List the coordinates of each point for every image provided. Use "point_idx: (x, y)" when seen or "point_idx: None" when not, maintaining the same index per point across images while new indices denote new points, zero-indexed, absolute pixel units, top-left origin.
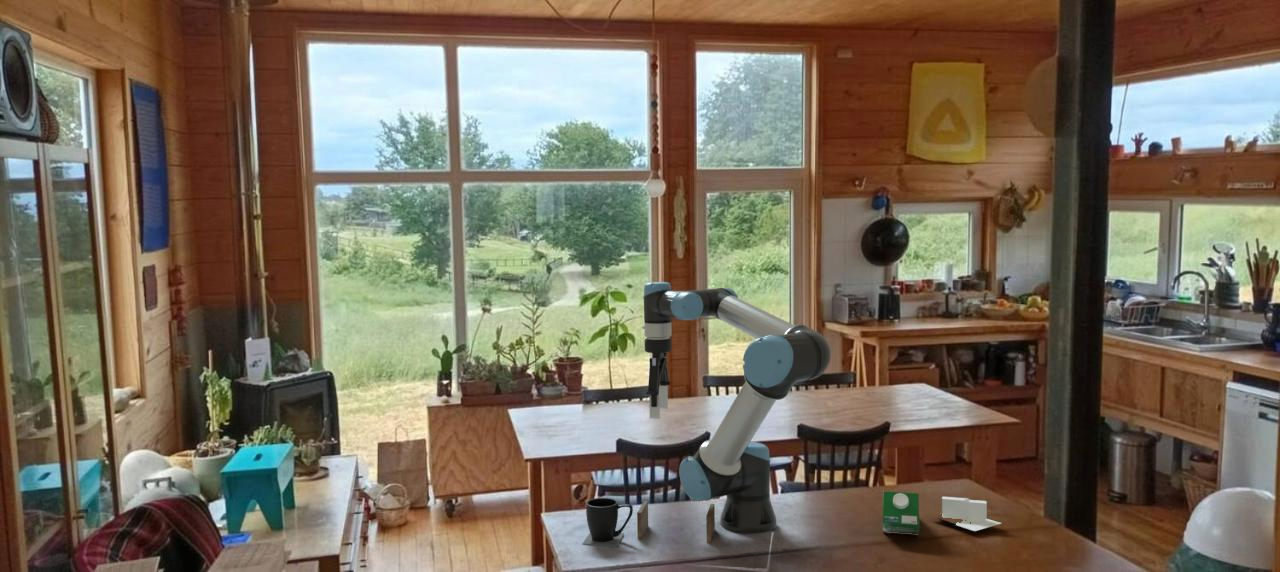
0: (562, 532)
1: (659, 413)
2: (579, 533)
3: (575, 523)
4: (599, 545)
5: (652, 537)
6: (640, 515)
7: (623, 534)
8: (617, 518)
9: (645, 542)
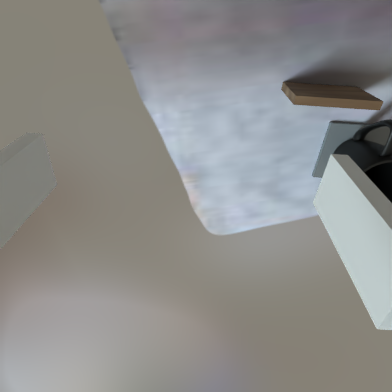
0: (298, 212)
1: (359, 170)
2: (306, 190)
3: (258, 202)
4: None
5: (350, 64)
6: (380, 100)
7: (336, 123)
8: (378, 145)
9: (377, 76)
